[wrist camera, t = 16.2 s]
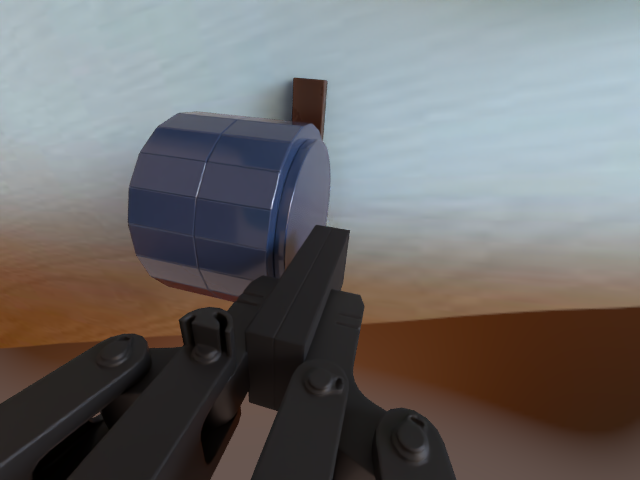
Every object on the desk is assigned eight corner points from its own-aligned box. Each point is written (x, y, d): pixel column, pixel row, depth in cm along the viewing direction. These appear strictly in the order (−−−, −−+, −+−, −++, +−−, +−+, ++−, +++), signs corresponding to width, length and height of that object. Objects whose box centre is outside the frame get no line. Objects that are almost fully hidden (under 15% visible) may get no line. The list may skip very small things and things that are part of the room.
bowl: (326, 256, 23) (243, 240, 24) (338, 118, 18) (235, 108, 19) (278, 356, 14) (152, 323, 15) (279, 140, 9) (100, 119, 11)
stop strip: (290, 265, 25) (287, 270, 24) (297, 78, 18) (292, 77, 18) (313, 269, 25) (310, 275, 24) (327, 80, 18) (324, 79, 17)
